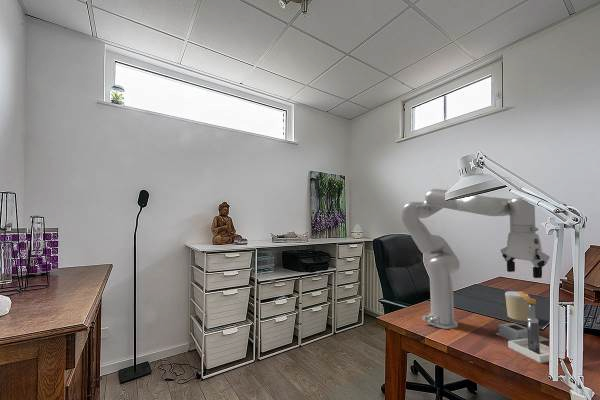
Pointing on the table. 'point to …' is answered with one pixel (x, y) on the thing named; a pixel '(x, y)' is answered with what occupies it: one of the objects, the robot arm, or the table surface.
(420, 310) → the table surface
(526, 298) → the yellow curved piece
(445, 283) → the robot arm
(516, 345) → the tray
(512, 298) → the coffee cup
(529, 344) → the pin
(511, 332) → the hitch
